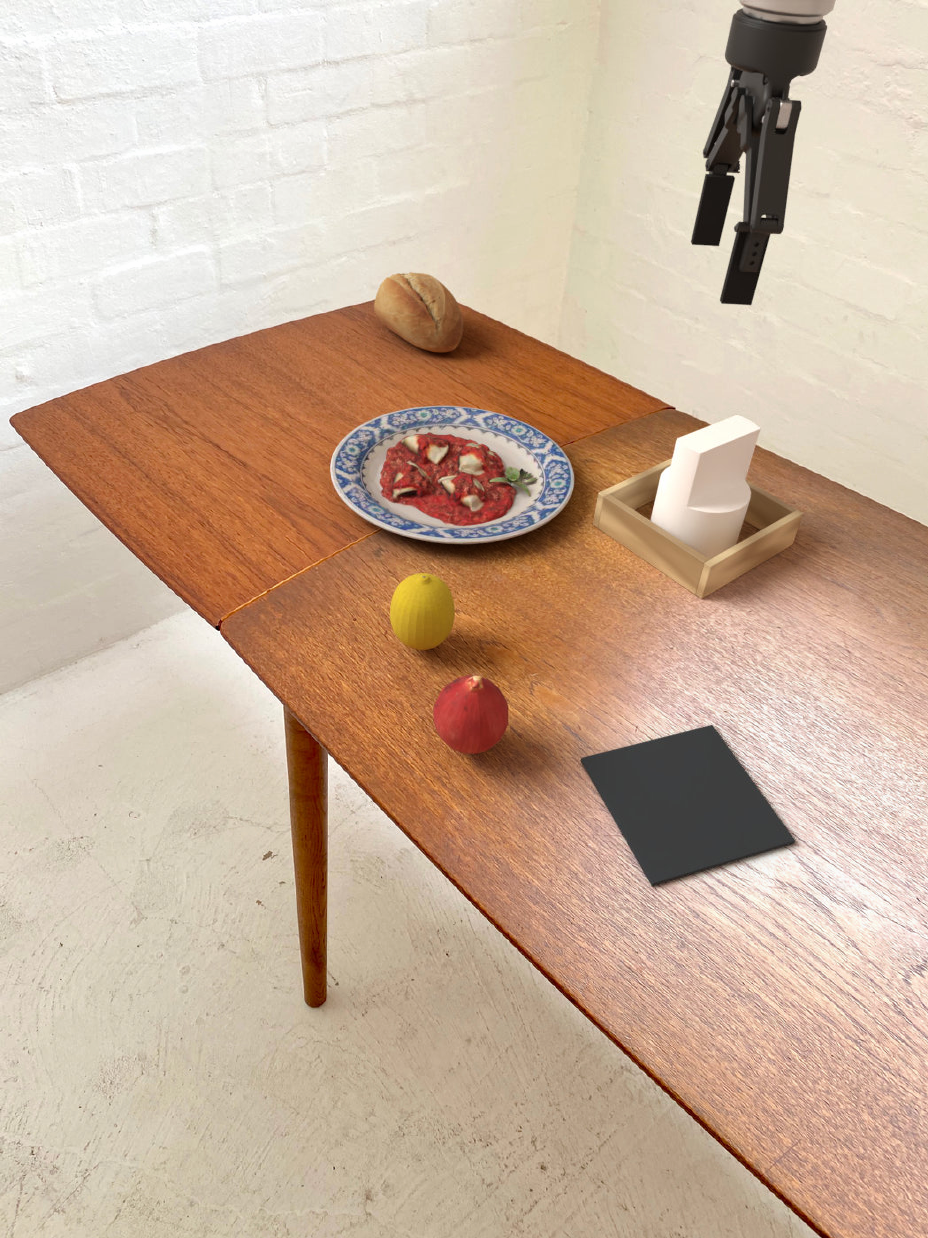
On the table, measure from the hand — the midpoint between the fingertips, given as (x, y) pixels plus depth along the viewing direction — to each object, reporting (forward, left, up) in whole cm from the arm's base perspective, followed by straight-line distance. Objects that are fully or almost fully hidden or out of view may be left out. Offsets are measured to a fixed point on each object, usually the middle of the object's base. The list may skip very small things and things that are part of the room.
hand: (719, 272), depth 93 cm
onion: (+35, +30, -24) cm, 51 cm away
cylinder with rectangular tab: (+3, +10, -24) cm, 26 cm away
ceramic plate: (+24, -5, -24) cm, 34 cm away
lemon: (+35, +18, -24) cm, 46 cm away
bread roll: (+17, -39, -24) cm, 49 cm away
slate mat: (+21, +40, -23) cm, 51 cm away
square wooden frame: (+3, +10, -23) cm, 25 cm away
